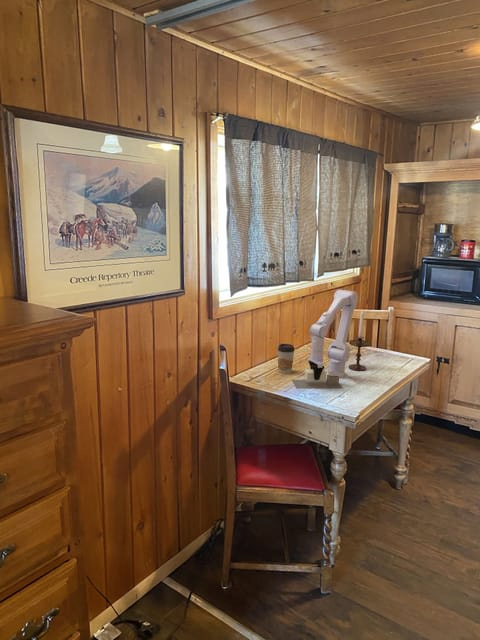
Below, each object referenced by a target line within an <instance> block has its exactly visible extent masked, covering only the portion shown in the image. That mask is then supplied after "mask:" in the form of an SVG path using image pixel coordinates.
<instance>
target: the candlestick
mask: <svg viewBox="0 0 480 640" xmlns="http://www.w3.org/2000/svg"><path fill="white" fill-rule="evenodd" d="M359 315H360V317H359V326H358V336H356V338H357V339H350V340H349V341H348V344H349V345H350V346H354V347H356V348H357V353H356V354H355V356H356V358H355V360H356V363H354V364H349V365H348V369H349V370H351V371H354V372H355V371H356V372H365V371H367V366H365V365H362V364H360V361H361V357H362V354H361V348H367V347H371V342H370V341H367V340H365V339H364V338H365V337H364V336H363V330H364V318H365V312H364V305H363V304H361V311H360V313H359Z"/></svg>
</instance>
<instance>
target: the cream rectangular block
mask: <svg viewBox="0 0 480 640" xmlns="http://www.w3.org/2000/svg"><path fill="white" fill-rule="evenodd" d="M327 375H328V372H326V370H325V368H324V369H323V371H322V373H321V376H320V379H319V380H315V379H314V371H313V369H311V368H309V369H304V380H307V381H326V380H327Z"/></svg>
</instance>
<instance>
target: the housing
mask: <svg viewBox="0 0 480 640" xmlns="http://www.w3.org/2000/svg"><path fill="white" fill-rule="evenodd" d="M291 382H292V383H293V385H294V387H295V388H296V389H297V390H298V389H300V390H301V389H303V390H304V389H307V390H310V389H312V390H313V389H316V390H318V389H321V390H322V389H324V390H325V389H327V390H329V389H331V390H332V389H341V390H342V389H344V387H343V386H342V385H341V384H340V378H339V376H329V374H326V381H307V380H306V379H291Z"/></svg>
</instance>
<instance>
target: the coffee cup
mask: <svg viewBox="0 0 480 640" xmlns="http://www.w3.org/2000/svg"><path fill="white" fill-rule="evenodd" d="M294 353H295V347H294V345H293V344H289V343H280V344H278V347H277V370H278V373H280V374H283V375H284V374H285V375H286V374H289V375H290V374H291V373H292V372H293V371H292V369H293V361H294V355H295V354H294Z"/></svg>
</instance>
